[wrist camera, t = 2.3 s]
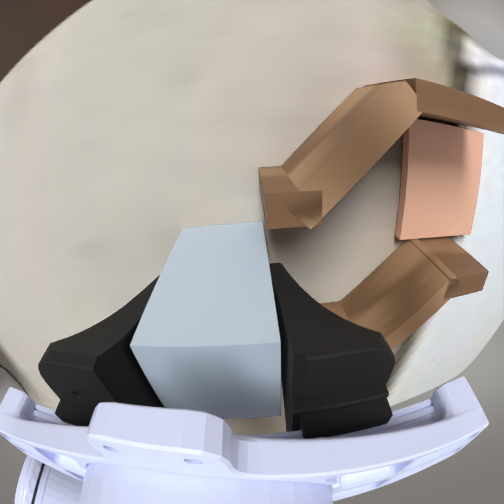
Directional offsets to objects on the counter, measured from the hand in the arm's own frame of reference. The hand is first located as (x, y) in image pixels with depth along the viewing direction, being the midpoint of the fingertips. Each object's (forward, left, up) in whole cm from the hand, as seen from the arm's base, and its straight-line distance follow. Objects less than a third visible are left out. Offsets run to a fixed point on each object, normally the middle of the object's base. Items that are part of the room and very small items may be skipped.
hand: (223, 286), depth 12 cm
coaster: (+4, -12, -2) cm, 13 cm away
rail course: (+2, -7, -2) cm, 8 cm away
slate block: (0, 0, -2) cm, 2 cm away
